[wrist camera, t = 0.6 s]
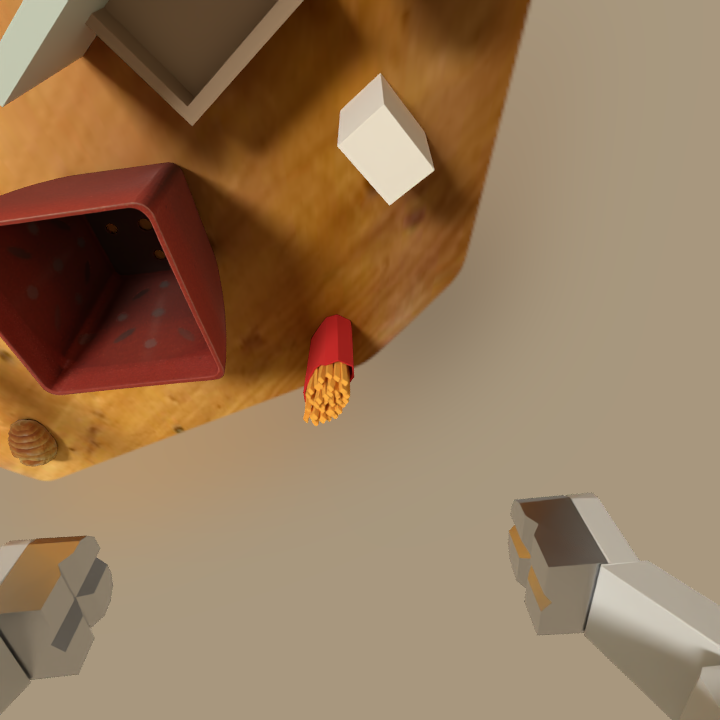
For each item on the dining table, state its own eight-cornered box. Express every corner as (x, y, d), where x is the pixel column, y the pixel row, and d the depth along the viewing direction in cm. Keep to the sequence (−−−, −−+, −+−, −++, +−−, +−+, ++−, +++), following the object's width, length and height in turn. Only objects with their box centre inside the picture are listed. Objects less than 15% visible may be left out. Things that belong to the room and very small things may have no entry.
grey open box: (206, -186, 35) (144, -214, 25) (322, -28, 41) (309, 3, 31) (63, 38, 44) (-25, 85, 34) (174, 140, 50) (128, 206, 40)
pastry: (3, 414, 80) (-9, 433, 77) (48, 417, 81) (37, 436, 78) (22, 448, 86) (12, 467, 84) (63, 451, 87) (54, 470, 84)
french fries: (333, 305, 65) (328, 378, 55) (361, 319, 66) (361, 391, 57) (301, 350, 70) (292, 423, 61) (328, 361, 72) (323, 434, 62)
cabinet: (380, 72, 46) (383, 104, 39) (425, 132, 50) (434, 170, 43) (340, 110, 48) (337, 146, 42) (385, 165, 52) (389, 205, 45)
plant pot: (199, 122, 49) (146, 202, 37) (253, 282, 62) (227, 380, 50) (18, 148, 51) (-90, 232, 39) (108, 298, 64) (48, 396, 52)
